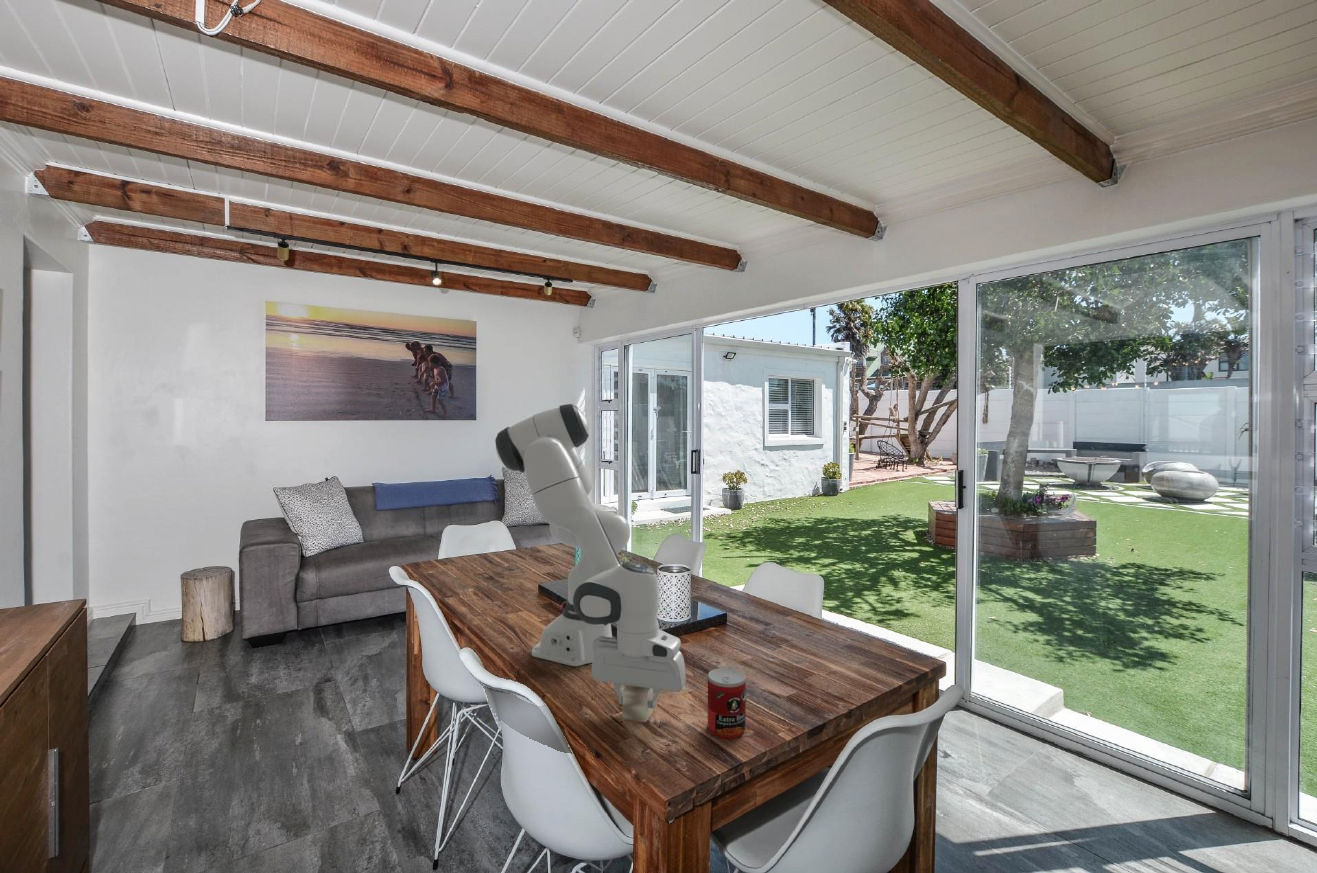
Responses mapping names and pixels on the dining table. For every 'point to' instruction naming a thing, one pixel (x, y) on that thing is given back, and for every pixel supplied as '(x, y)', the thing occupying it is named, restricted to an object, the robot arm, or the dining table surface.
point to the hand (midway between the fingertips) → (638, 705)
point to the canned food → (726, 702)
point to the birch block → (636, 703)
